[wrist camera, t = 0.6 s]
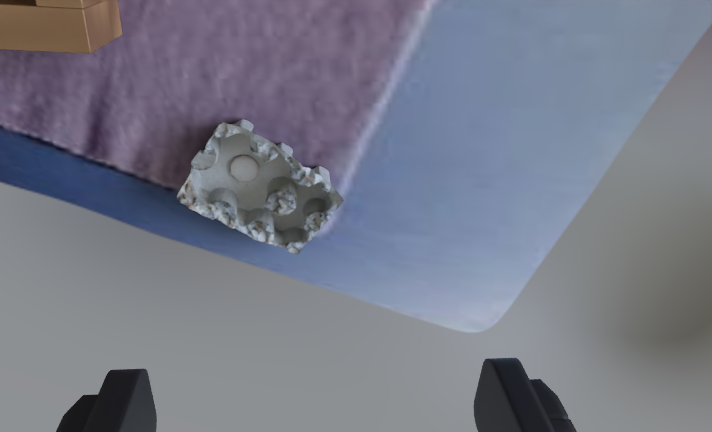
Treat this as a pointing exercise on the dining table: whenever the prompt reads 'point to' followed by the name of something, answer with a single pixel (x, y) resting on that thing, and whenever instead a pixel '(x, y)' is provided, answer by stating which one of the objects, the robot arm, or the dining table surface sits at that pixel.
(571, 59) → the dining table surface
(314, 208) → the egg carton
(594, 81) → the dining table surface
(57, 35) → the holder
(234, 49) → the dining table surface
